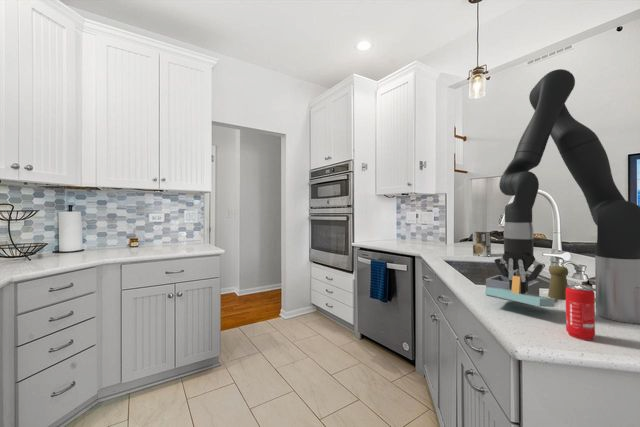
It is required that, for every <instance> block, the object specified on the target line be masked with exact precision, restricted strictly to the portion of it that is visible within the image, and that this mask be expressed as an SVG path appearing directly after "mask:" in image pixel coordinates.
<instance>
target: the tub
mask: <svg viewBox="0 0 640 427" xmlns="http://www.w3.org/2000/svg"><path fill="white" fill-rule="evenodd" d="M486 287H490V288H501V289H507V290H510V286H509V278H507V277H504V276H503V275H502V274H500V275H499V274H497V275H495V276H494V275H493V276H491V277H488V278H485V288H486ZM527 294H531V295H536V296H540V281H539V280H538V281H537V280H533V281H529V282H528V292H527ZM485 295H486V296H488V297H492V298H497V299H502V300H506V301H511V302H515V303H520V304H525V305H527V304H526V303H522V302H518V301H513V300H509V299H505V298H500V297H496V296H491V295H487V294H485Z"/></svg>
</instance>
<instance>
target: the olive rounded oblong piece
mask: <svg viewBox="0 0 640 427" xmlns="http://www.w3.org/2000/svg"><path fill="white" fill-rule="evenodd" d="M548 273H549V274H550V280H549V285H548V286H549V287H548V292H547V293H548V294H547V298H551V299H554V300H560V301H566V288H567V285H569V284H568V280H567V279H568V278H567V276H568V275H569V269H568V267H566V266H562V265H552V266H549V268H548Z"/></svg>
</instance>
